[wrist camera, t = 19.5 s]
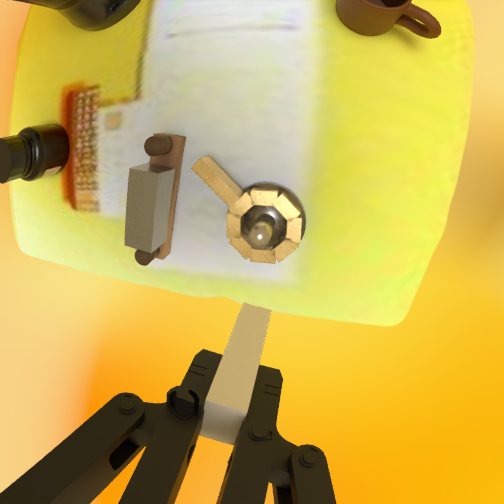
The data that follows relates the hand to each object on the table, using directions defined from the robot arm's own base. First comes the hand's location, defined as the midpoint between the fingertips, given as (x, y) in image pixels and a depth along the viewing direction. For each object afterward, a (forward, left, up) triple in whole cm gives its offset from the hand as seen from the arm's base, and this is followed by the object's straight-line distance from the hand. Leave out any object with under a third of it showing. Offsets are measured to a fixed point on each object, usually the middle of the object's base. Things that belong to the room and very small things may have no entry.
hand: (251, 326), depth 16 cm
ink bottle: (-40, +2, -25) cm, 47 cm away
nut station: (-2, -2, -24) cm, 25 cm away
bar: (-17, -2, -22) cm, 28 cm away
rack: (-17, -2, -24) cm, 30 cm away
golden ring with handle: (-5, 0, -23) cm, 24 cm away
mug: (+6, +28, -25) cm, 38 cm away
